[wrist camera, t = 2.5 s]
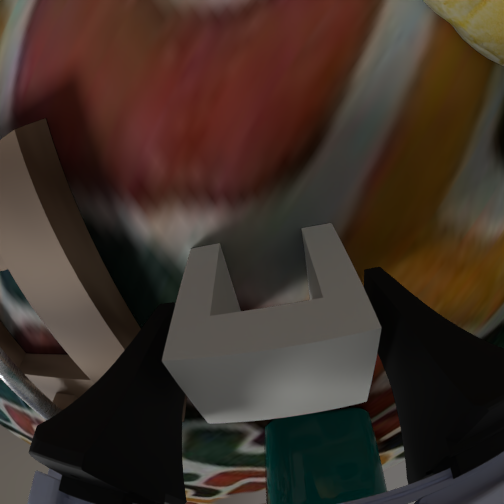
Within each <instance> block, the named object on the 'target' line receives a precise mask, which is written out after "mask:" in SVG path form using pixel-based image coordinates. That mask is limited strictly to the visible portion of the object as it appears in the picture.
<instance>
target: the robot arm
mask: <svg viewBox="0 0 504 504" xmlns="http://www.w3.org/2000/svg"><path fill="white" fill-rule="evenodd" d="M364 289H365V292H366V294H367V296H368V298H369V300H370V303H371V305H372V307H373V309H374V312H375V314H376V316H377V318H378V321H379V323H380V325H381V334H380V340H379V346H378V354H379V357H380V359H381V361H382V364H383V366H384V369H385V371H386V374H387V376H388V379H389V382H390V385H391V388H392V391H393V395H394V399H395V403H396V407H397V412H398V417H399V421H400V426H401V432H402V438H403V444H404V451H405V460H406V470H407V480H408V485H406V486H403V487H400V488H397V489H394V490H391V491H387V492H384V493H381V494H377V495H373V496H370V497H366V498H362V499H358V500H353V501H349V502H344V503H339V504H408V503H411V502H414V501H416V500H417V501H416V502H415V503H414V504H504V349H503V348H500V347H498V346H495V345H493V344H491V343H488V342H486V341H484V340H482V339H480V338H478V337H476V336H474V335H472V334H471V333H469V332H467V331H465V330H463V329H462V328H460V327H458V326H457V325H455V324H453V323H452V322H450V321H449V320H447V319H445V318H444V317H442V316H441V315H440V314H438V313H437V312H435V311H434V310H433V309H431V308H430V307H428V306H427V305H426V304H424V303H423V302H422V301H421V300H419V299H418V298H417V297H416V296H414V295H413V294H412V293H411V292H409V291H408V290H407V289H406V288H404V287H403V286H402V285H401V284H400V283H399V282H397V281H396V280H395V279H394V278H393V277H391V276H390V275H389V274H388V273H387V272H385V271H384V270H383V269H382V268H381V267H375V268H371V269H366V270H364ZM174 308H175V303H174V302H173V303H165V304H160V305H159V306H158V307H157V309H156V310H155V311H154V312H153V314H152V315H151V316H150V318H149V319H148V320H147V322H146V323H145V324H144V326H143V327H142V328H141V330H140V331H139V332H138V334H137V335H136V336H135V338H134V339H133V340H132V342H131V343H130V344H129V346H128V347H127V348H126V349H125V350H124V352H123V353H122V354H121V355H120V357H119V358H118V359H117V360H116V361H115V363H114V364H113V365H112V366H111V367H110V368H109V369H108V370H107V372H106V373H105V374H104V375H103V376H102V377H101V378H100V379H99V380H98V381H97V382H96V383H95V384H94V385H92V386H91V387H90V388H89V389H88V390H87V391H86V392H85V393H84V394H82V395H81V396H80V397H79V398H78V399H77V400H75V401H74V402H73V403H71V404H70V405H69V406H68V407H66V408H65V409H63V410H62V411H61V412H59V413H58V414H56V415H55V416H53V417H51V418H50V419H48V420H46V421H45V422H43V423H42V424H40V425H38V426H37V428H36V431H35V434H34V437H33V440H32V443H31V446H30V450H29V454H30V455H31V456H32V457H33V458H34V459H35V460H37V461H39V462H40V463H42V464H44V465H45V466H47V467H48V468H49V471H48V475H47V474H44V473H42V472H39V471H36V472H35V475H34V479H33V483H32V487H31V491H30V494H29V499H28V503H27V504H185V503H186V502H187V501H186V495H185V487H184V478H183V465H182V414H183V406H184V399H185V393H184V392H183V390H182V389H181V388H180V386H179V385H178V383H177V382H176V381H175V379H174V378H173V377H172V375H171V374H170V372H169V371H168V369H167V368H166V367H165V365H164V364H163V362H162V357H163V353H164V349H165V344H166V340H167V336H168V332H169V328H170V324H171V320H172V316H173V312H174Z"/></svg>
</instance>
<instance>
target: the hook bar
mask: <svg viewBox="0 0 504 504" xmlns="http://www.w3.org/2000/svg"><path fill="white" fill-rule="evenodd" d="M0 378H1V379H2V380H3V381H4V382H5V383H6V384H7V385H8V386H9V387H10V388H11V389H12V390H13V391H14V392H15V393H16V394H17V395H18V396H19V397H20V398H21V399H22V400H23V401H24V402H26V403H27V404H28V405H29V406H30V407H31V408H32V409H33V410H35V411H36V412H37V413H38V414H39V415H41V416H42V417H43V418H44V419H45V420H48V419H50V418H51V417H53V416H55V415H56V414H58V413H59V412H61V411H62V410H61V409H60V408H59V407H58V406H57V405H56V404H55V403H53V402H52V401H51V400H50V399H49V398H48V397H47V396H46V395H45V394H44V393H43V392H42V391H41V390H39V389H38V388H37V387H36V386H35V385H34V384H33V383H32V382H31V381H30V380H29V379H28V378H27V376H26V375H25V374H24V373H23V372H22V371H21V370H20V369H19V368H18V367H17V366H16V365H15V364H14V363H13V361H12V360H11V359H10V358H9V357H8V356H7V355H6V353H5V352H4V351H3V350H2V349H1V347H0Z"/></svg>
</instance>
